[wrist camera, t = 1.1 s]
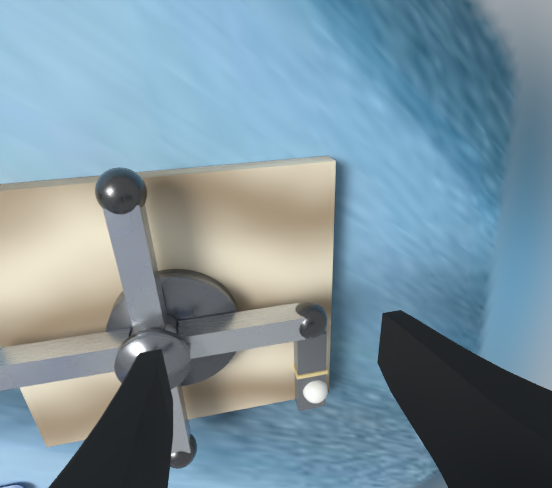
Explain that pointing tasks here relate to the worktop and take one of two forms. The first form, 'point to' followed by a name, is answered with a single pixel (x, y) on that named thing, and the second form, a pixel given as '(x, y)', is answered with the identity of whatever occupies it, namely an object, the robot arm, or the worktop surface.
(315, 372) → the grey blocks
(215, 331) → the cam capstan
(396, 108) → the worktop surface
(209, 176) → the stand plate
